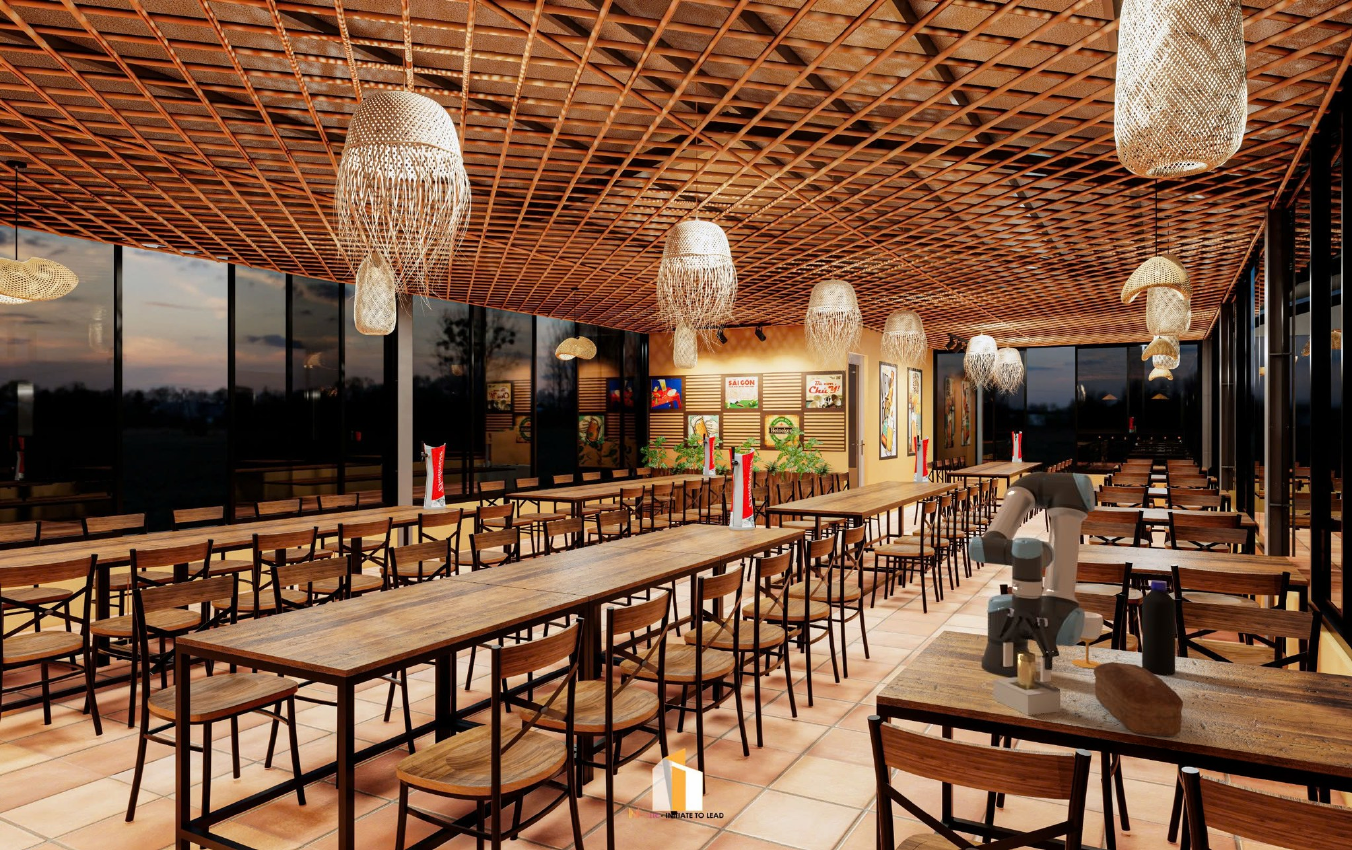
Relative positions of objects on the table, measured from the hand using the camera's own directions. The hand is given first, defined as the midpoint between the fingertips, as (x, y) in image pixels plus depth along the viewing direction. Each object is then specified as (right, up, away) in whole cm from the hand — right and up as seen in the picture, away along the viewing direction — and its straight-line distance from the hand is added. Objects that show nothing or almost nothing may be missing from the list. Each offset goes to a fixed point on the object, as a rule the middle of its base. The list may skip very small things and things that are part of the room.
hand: (1026, 673), depth 210 cm
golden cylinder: (0, -9, 0) cm, 9 cm away
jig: (0, -9, 0) cm, 9 cm away
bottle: (+56, -10, +32) cm, 65 cm away
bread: (+25, -9, -9) cm, 28 cm away
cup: (+37, -10, +38) cm, 54 cm away
